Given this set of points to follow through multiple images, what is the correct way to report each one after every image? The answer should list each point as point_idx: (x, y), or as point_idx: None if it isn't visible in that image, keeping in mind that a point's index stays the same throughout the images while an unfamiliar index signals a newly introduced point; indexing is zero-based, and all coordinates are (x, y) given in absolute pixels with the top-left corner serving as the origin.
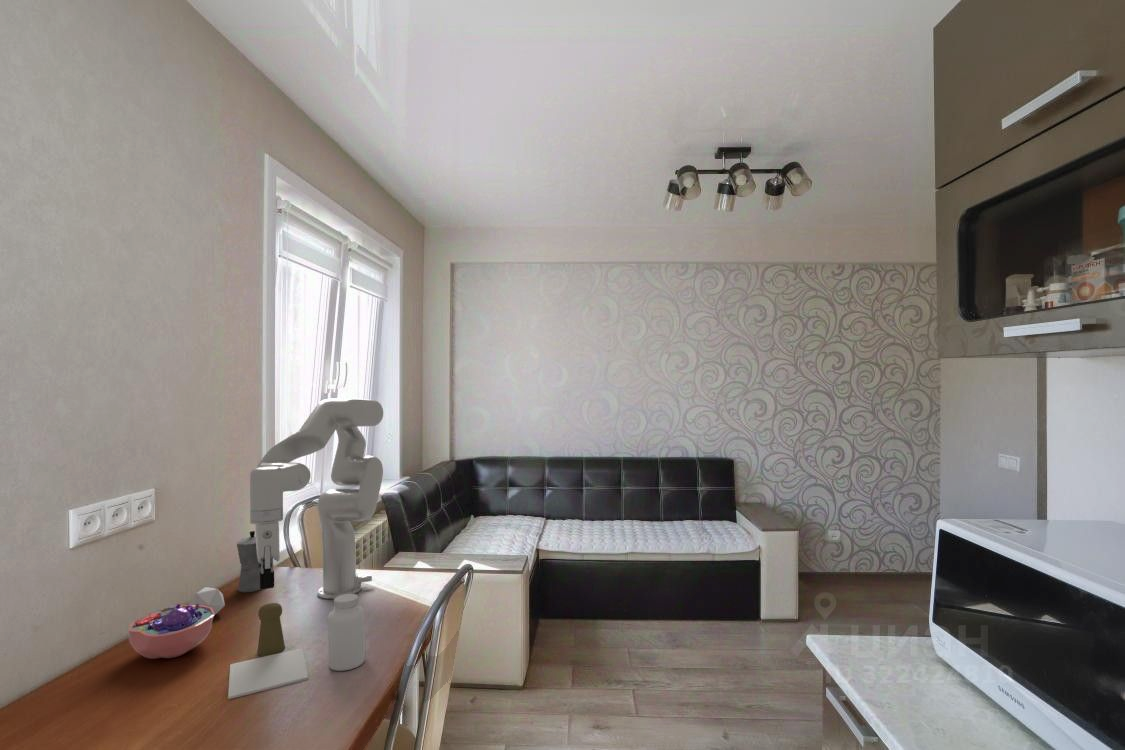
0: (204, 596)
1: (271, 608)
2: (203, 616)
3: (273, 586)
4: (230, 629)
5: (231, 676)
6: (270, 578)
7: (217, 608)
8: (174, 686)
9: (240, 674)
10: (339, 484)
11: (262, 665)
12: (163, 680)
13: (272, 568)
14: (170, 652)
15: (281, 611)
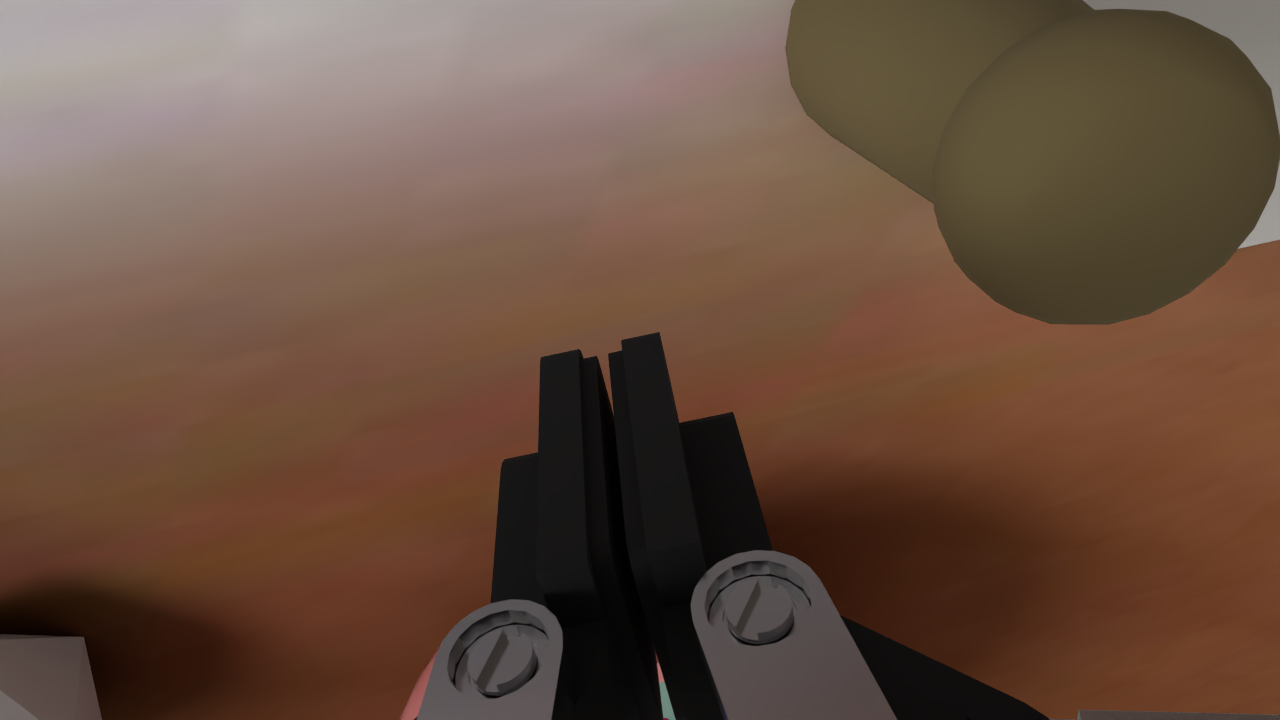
0: None
1: (1269, 170)
2: (670, 716)
3: (658, 344)
4: (301, 460)
5: (1264, 232)
6: (755, 494)
7: (2, 665)
8: (1112, 495)
9: (1278, 178)
10: None
11: (1241, 42)
12: (994, 563)
13: (848, 651)
14: None
15: (1175, 15)
